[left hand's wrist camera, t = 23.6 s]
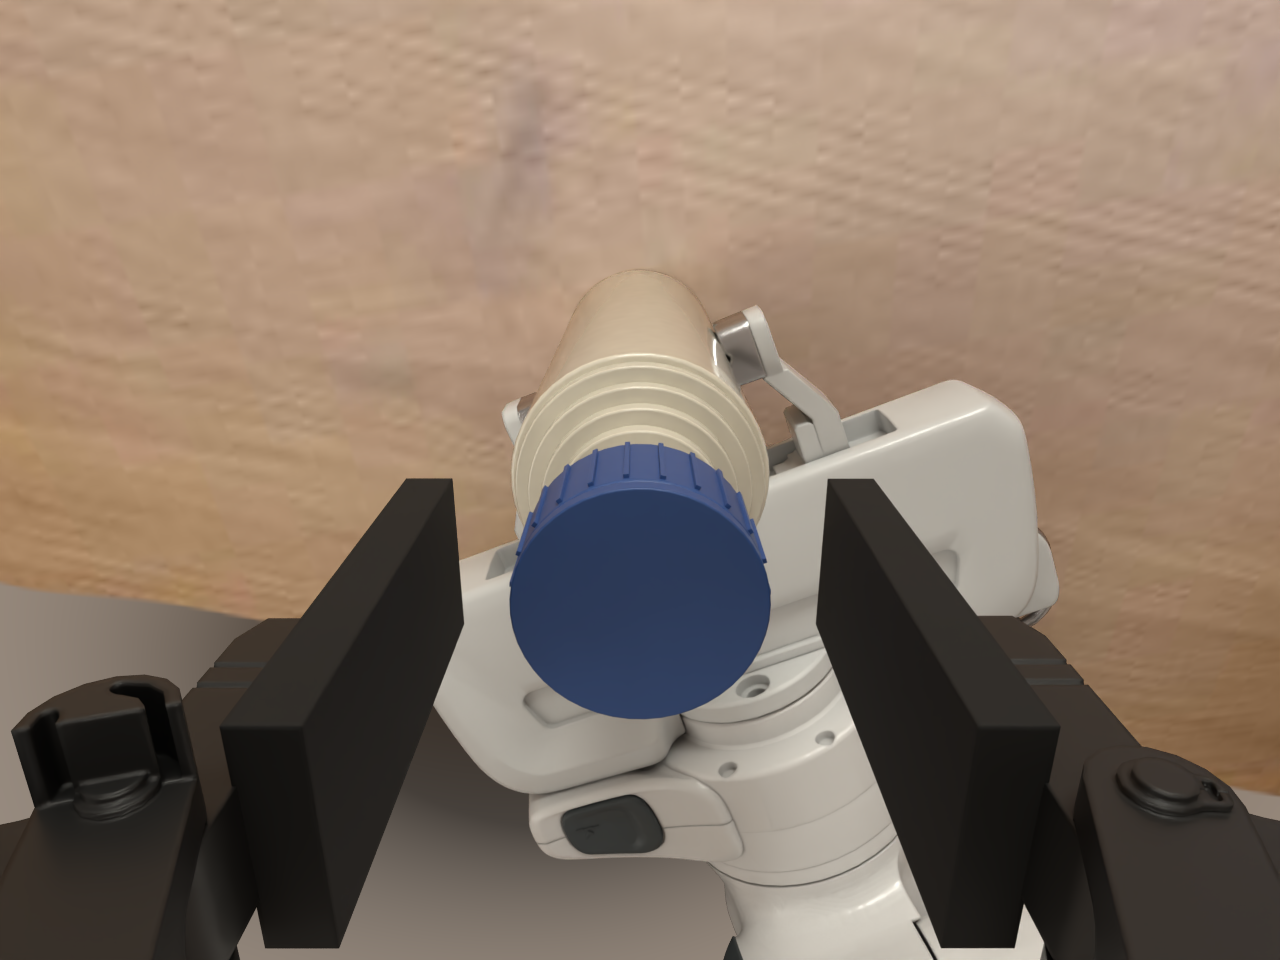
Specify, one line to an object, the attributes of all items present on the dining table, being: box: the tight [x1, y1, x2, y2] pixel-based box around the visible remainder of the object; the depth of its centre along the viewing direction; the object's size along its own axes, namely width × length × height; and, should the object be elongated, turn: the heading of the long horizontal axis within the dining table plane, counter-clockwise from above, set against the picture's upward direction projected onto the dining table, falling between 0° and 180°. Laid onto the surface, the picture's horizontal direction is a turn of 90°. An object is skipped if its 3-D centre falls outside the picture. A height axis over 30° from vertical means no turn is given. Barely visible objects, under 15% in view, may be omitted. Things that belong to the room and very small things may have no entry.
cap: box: [509, 442, 771, 719], centre depth 13 cm, size 4×4×2 cm
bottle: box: [511, 270, 770, 527], centre depth 22 cm, size 5×5×20 cm
